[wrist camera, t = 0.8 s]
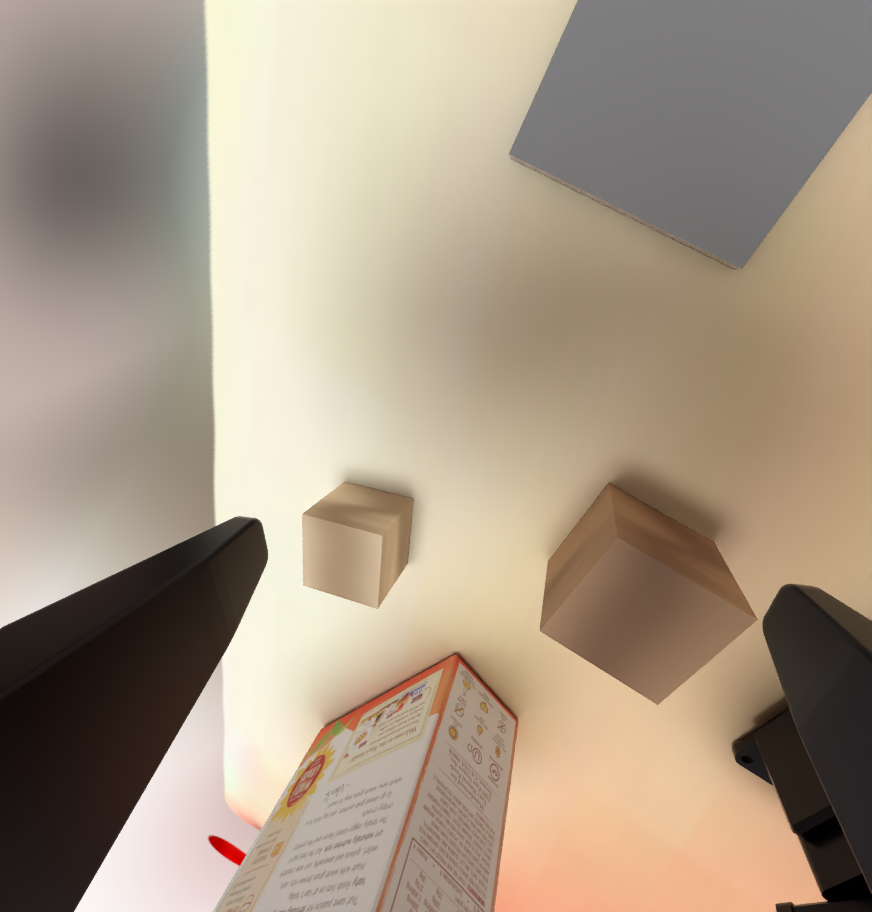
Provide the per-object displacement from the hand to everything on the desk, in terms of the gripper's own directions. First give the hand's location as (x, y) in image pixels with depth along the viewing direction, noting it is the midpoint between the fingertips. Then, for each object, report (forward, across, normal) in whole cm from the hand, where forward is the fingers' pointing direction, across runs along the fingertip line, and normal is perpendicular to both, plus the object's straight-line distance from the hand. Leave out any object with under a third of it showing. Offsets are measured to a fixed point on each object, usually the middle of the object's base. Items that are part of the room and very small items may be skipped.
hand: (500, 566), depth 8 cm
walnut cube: (+10, -6, +8) cm, 14 cm away
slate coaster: (+13, -5, -10) cm, 17 cm away
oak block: (+12, +6, +9) cm, 16 cm away
